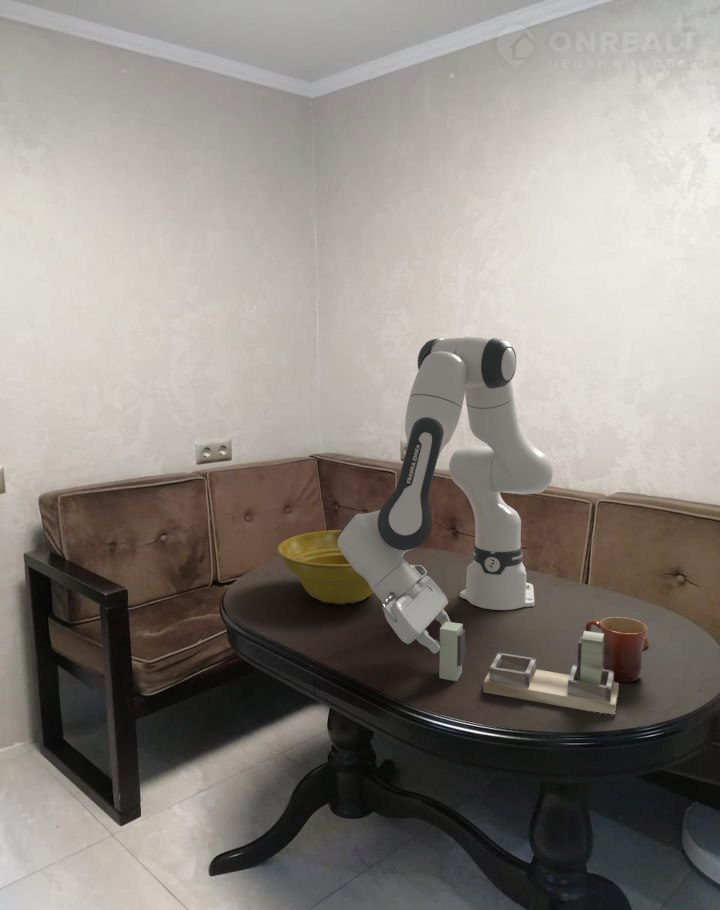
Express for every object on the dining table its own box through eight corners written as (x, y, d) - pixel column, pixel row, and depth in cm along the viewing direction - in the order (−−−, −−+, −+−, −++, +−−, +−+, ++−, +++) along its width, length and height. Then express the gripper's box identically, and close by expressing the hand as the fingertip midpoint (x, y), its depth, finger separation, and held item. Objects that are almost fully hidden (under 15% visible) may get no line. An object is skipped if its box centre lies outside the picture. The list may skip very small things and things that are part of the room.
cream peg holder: (494, 672, 142) (495, 613, 140) (618, 693, 133) (621, 630, 131) (483, 692, 134) (484, 630, 132) (614, 715, 125) (618, 649, 123)
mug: (653, 675, 140) (655, 625, 139) (632, 690, 134) (635, 637, 132) (595, 657, 148) (597, 609, 147) (573, 670, 142) (575, 620, 141)
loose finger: (445, 669, 143) (445, 621, 142) (465, 673, 142) (465, 624, 140) (439, 678, 139) (439, 628, 138) (459, 681, 138) (460, 631, 136)
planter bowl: (371, 627, 165) (371, 570, 164) (253, 606, 179) (252, 553, 177) (421, 585, 194) (422, 537, 192) (316, 570, 208) (316, 525, 206)
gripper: (390, 593, 132) (441, 652, 129) (425, 563, 150) (470, 614, 148) (367, 613, 134) (417, 672, 132) (404, 581, 153) (448, 632, 150)
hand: (445, 641), depth 140 cm, fingers open, 8 cm apart
